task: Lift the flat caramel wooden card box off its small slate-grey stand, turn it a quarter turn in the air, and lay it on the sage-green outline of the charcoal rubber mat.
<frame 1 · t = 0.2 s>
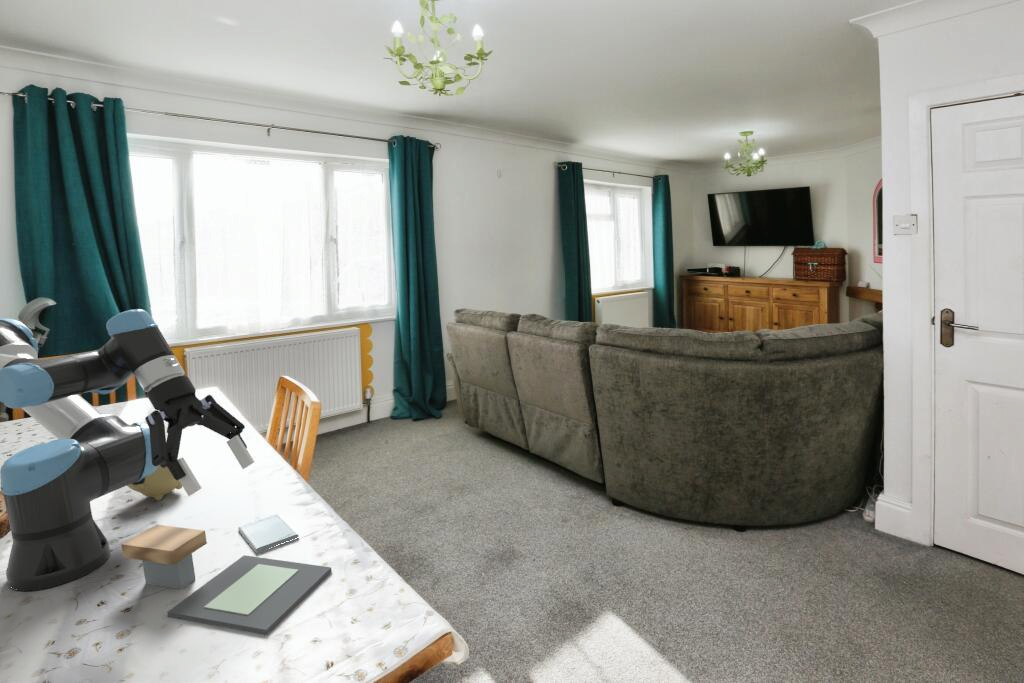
hand: (223, 478, 106), 15 cm above the table, tool tilted 30°, fingers open, 13 cm apart
card box: (165, 550, 98), point 6 cm above the table, touching stand
stand: (170, 581, 99), on the table
hard drive: (268, 537, 115), on the table
mat: (254, 592, 95), on the table
toy pig: (158, 497, 135), on the table
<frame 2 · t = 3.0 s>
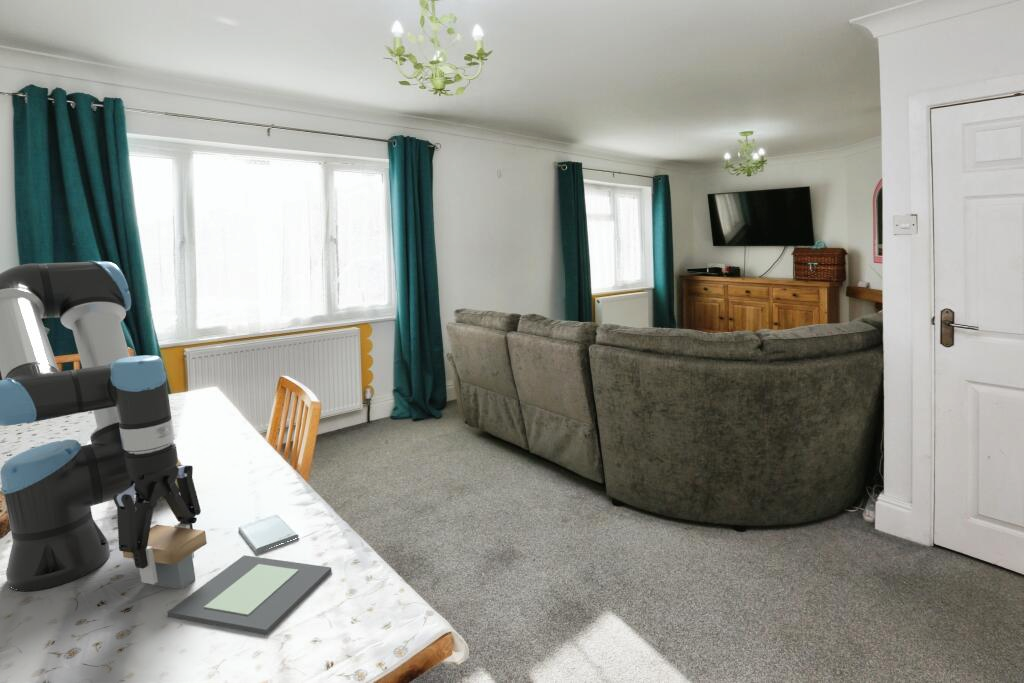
hand: (168, 569, 99), 2 cm above the table, tool pointing down, fingers closed on card box, 7 cm apart
card box: (165, 550, 98), point 6 cm above the table, touching gripper, stand
everything else where it was.
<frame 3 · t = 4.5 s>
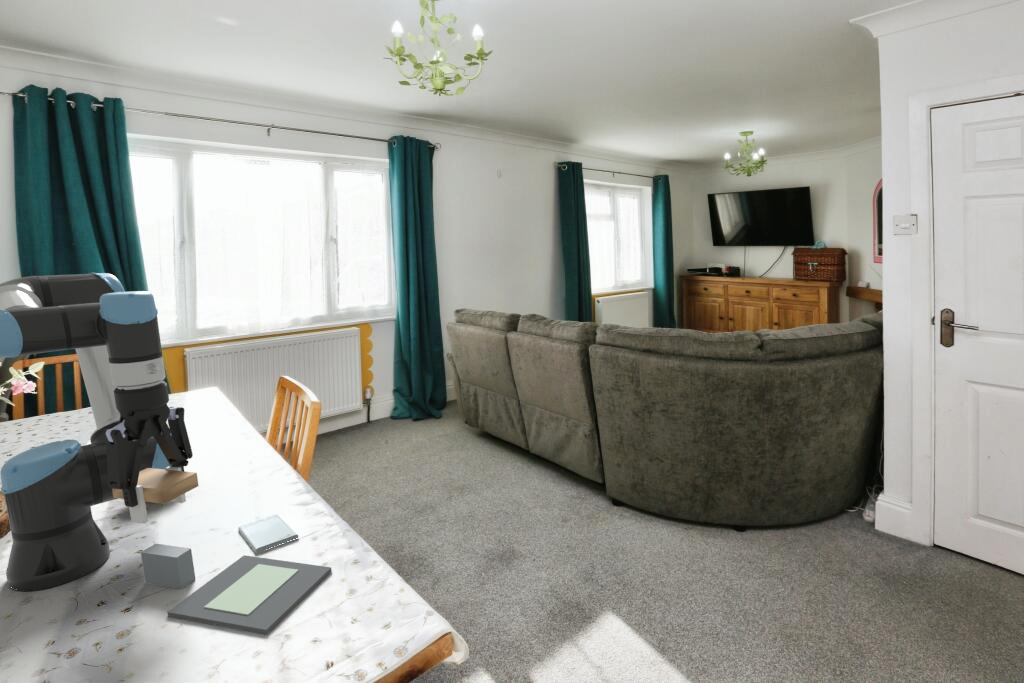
hand: (159, 511, 97), 13 cm above the table, tool pointing down, fingers closed on card box, 7 cm apart
card box: (156, 491, 97), point 17 cm above the table, touching gripper
everything else where it was.
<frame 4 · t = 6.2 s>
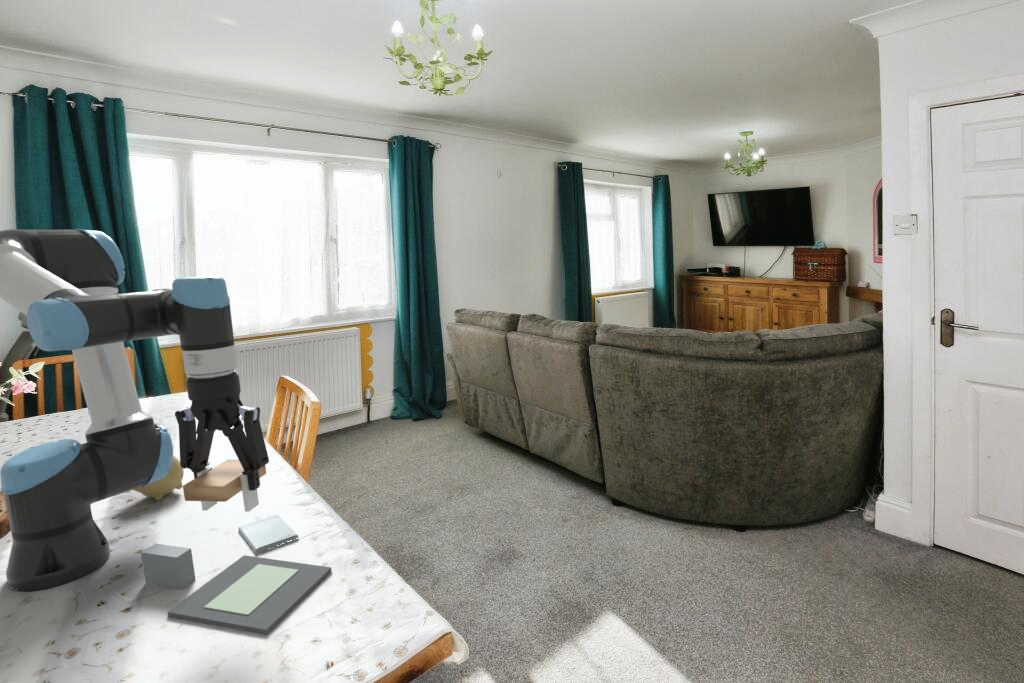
hand: (230, 507, 93), 16 cm above the table, tool pointing down, fingers closed on card box, 7 cm apart
card box: (227, 486, 92), point 19 cm above the table, touching gripper
everything else where it was.
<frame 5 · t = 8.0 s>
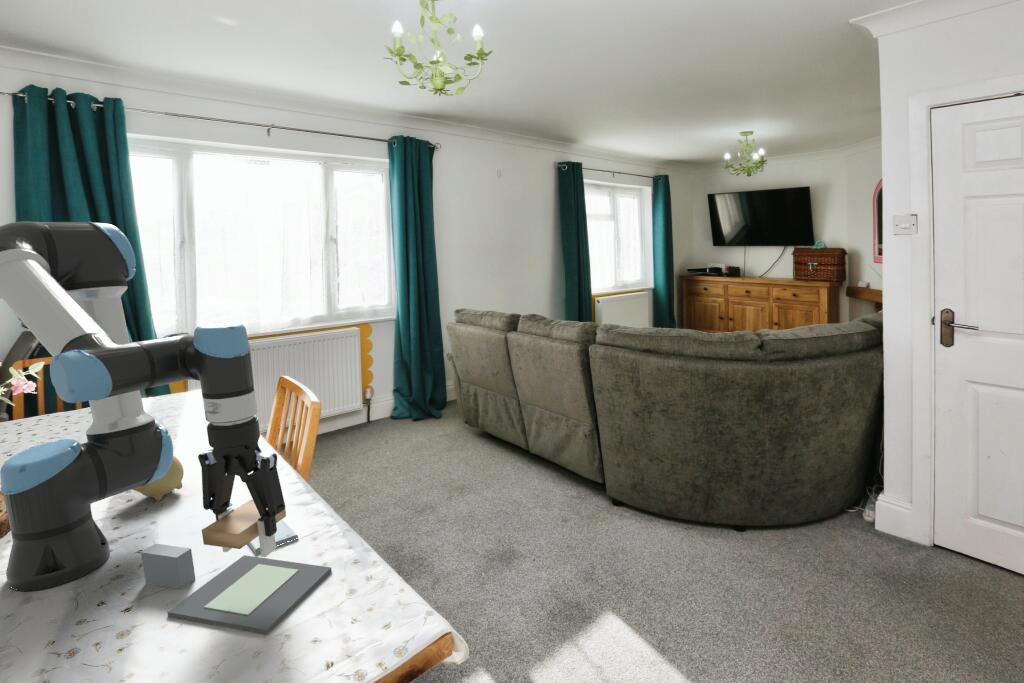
hand: (249, 549, 94), 8 cm above the table, tool pointing down, fingers closed on card box, 7 cm apart
card box: (246, 529, 93), point 12 cm above the table, touching gripper
everything else where it was.
when the fingers open (2 cm above the table, at t = 9.4 s): card box drops 5 cm, resting on mat.
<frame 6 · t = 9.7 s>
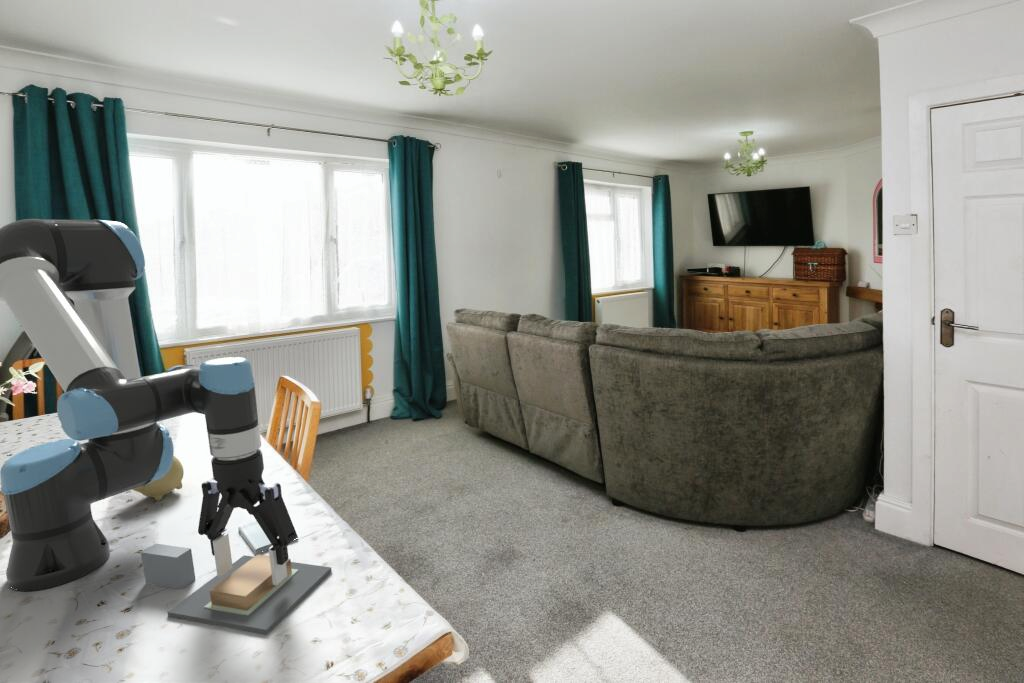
hand: (252, 576, 95), 3 cm above the table, tool pointing down, fingers open, 10 cm apart
card box: (253, 587, 95), point 1 cm above the table, touching mat
everything else where it was.
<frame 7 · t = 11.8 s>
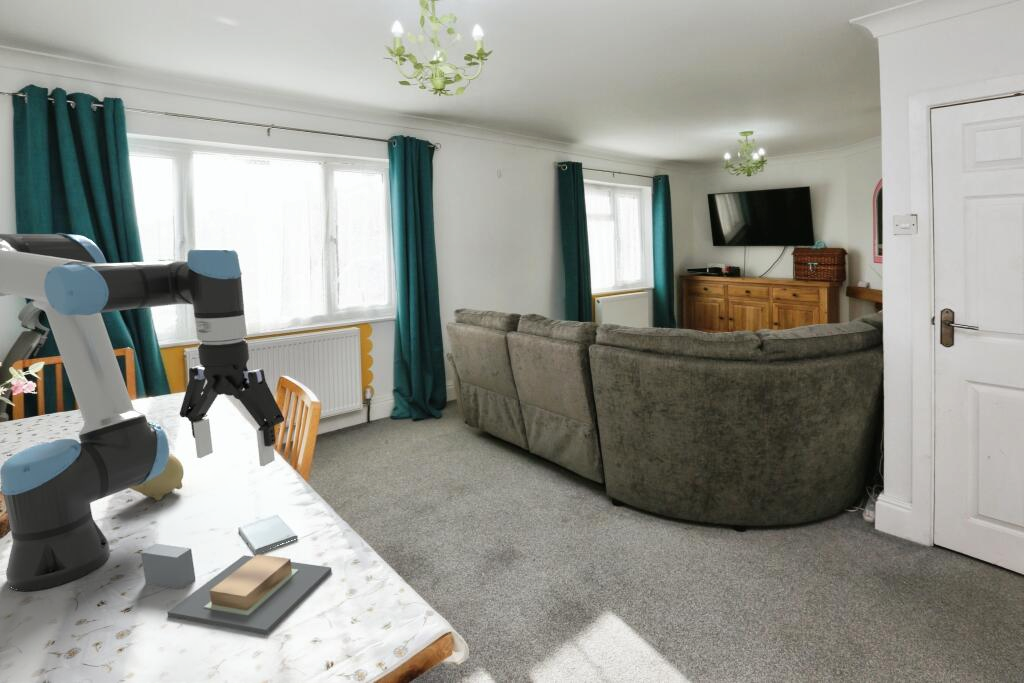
hand: (235, 459, 98), 22 cm above the table, tool pointing down, fingers open, 13 cm apart
nothing on the table moved.
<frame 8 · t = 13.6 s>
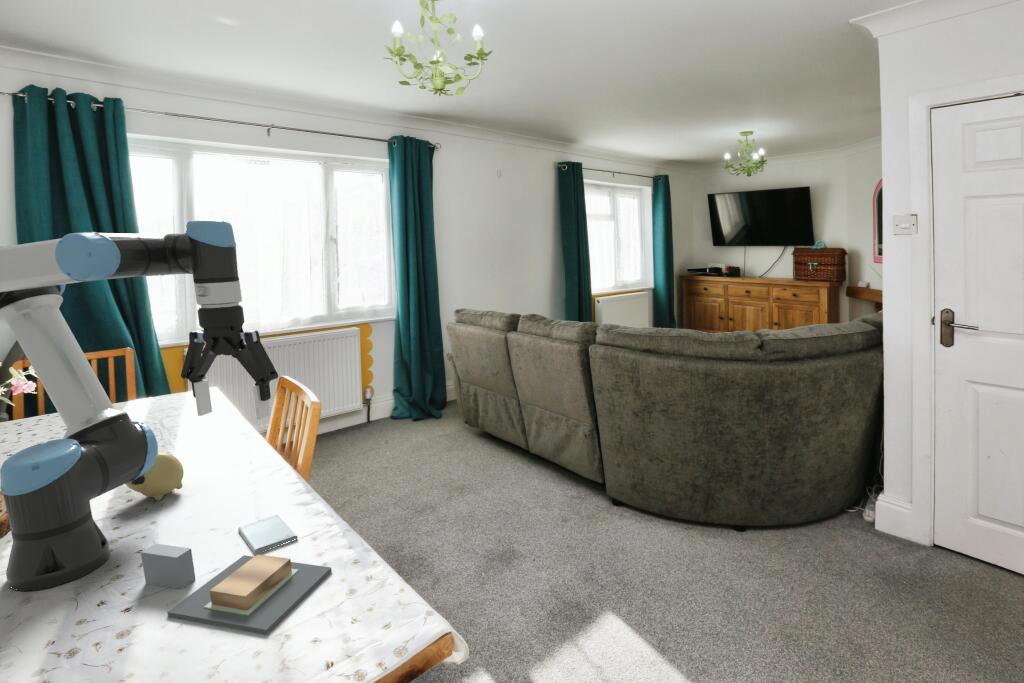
hand: (233, 415, 107), 27 cm above the table, tool pointing down, fingers open, 13 cm apart
nothing on the table moved.
at the end: card box inside the target area on the mat (0.0 cm from its centre), point 1.0 cm above the mat's base; card box touching mat; the gripper is holding nothing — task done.
